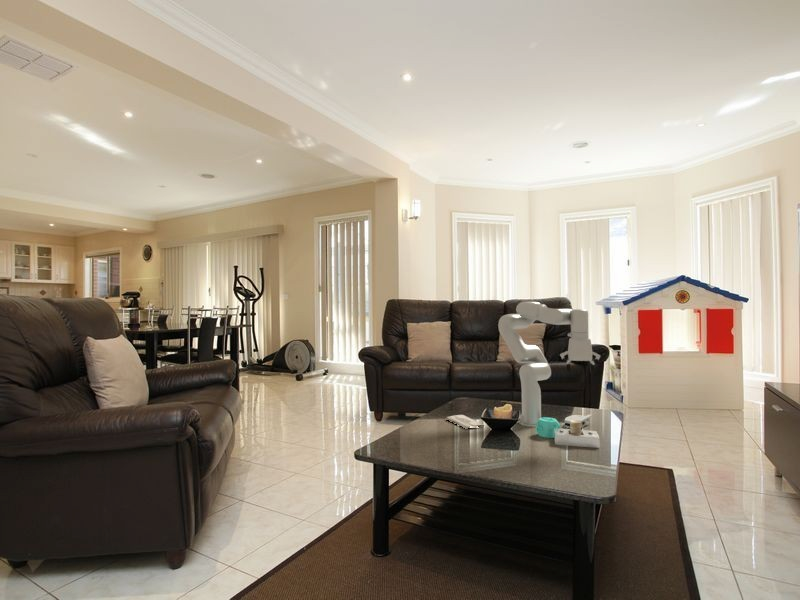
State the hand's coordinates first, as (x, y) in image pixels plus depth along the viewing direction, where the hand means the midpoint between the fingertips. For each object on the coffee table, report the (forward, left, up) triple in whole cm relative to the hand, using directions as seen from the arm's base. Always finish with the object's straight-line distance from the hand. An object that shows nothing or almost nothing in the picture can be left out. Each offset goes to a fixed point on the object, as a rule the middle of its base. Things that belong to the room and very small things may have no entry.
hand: (580, 372), depth 204 cm
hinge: (+5, +21, -28) cm, 35 cm away
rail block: (-3, -9, -30) cm, 32 cm away
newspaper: (-56, +10, -31) cm, 65 cm away
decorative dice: (-14, 0, -31) cm, 34 cm away
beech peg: (-3, -9, -30) cm, 32 cm away
